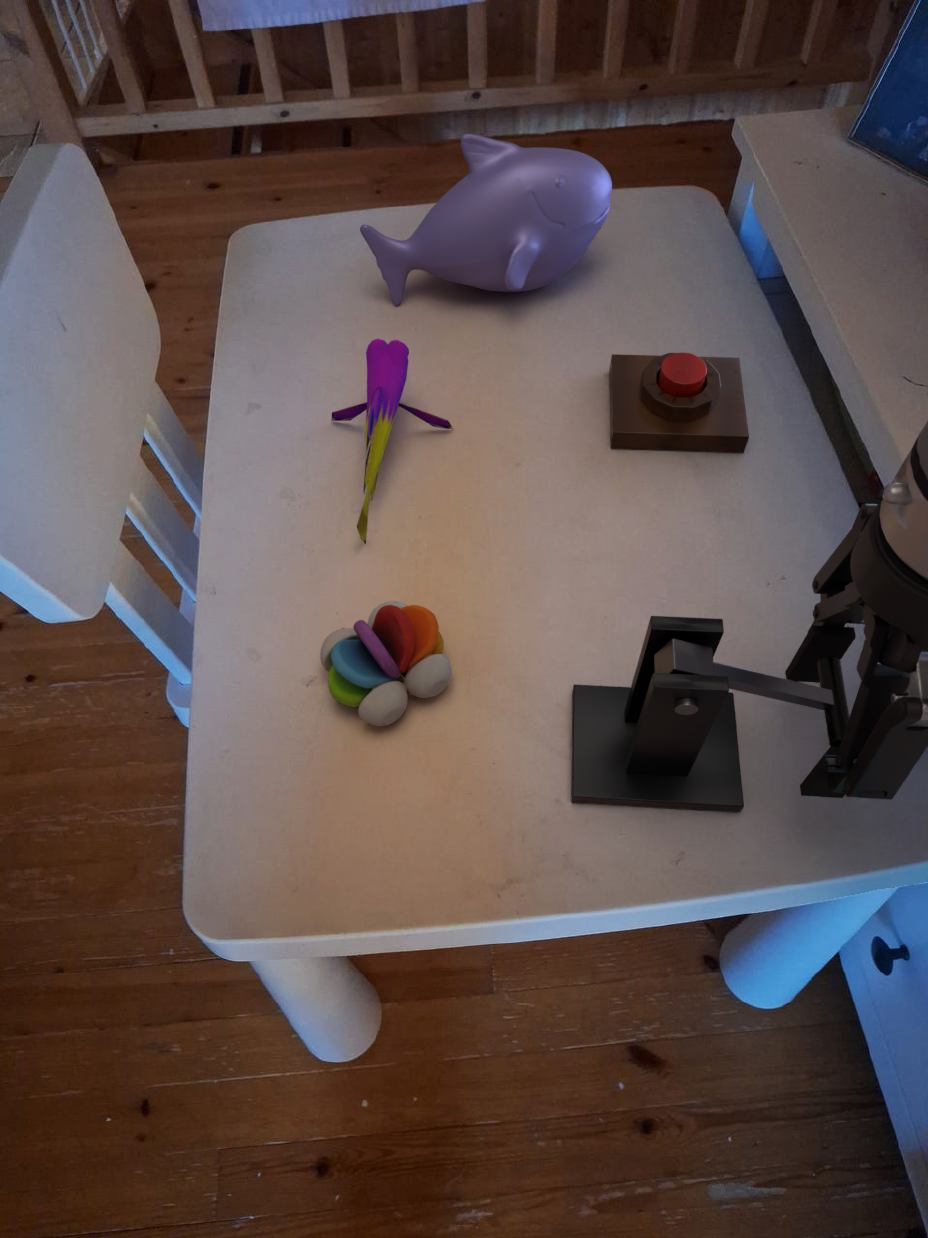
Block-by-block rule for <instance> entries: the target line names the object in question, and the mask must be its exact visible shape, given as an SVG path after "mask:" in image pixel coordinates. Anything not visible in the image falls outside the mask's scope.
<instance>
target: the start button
mask: <svg viewBox="0 0 928 1238" xmlns="http://www.w3.org/2000/svg"><path fill="white" fill-rule="evenodd" d="M673 353H674V354H672V355H669V356H668V357H666V358H665V359H664V361H663V362H662V366H661V371H660V375H659V385H660V387H661V389H662V390H663V391H664V392H665V393H667V394H669V395H671V396H674V397H684V398H690V397H693V396H695V395H697V394H698V393H699V392H700V391H701V390H702V388H703V385H704V381H705V377H706V373H707V367H706V364H705V363H704V361H703V360H702V359H701V358H699V357H700V356H698V355H695V354H693V353H691V354H690V352H673Z"/></svg>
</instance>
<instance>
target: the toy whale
mask: <svg viewBox="0 0 928 1238" xmlns="http://www.w3.org/2000/svg"><path fill="white" fill-rule="evenodd" d="M460 147H461V152H462V155H463V156H464V158H465V160H466V163H467V166H468V170H469V172H468V174H467V175H465V176H464V177H463V178H462V179H460V180H459V181H457V183H456V184H454V185H453V186H452V187H451V188H450V189H449V190H448V191H447V192H446V193H445V194H444V195H443V196H442V197H440V199H439V200H438V201H437V202H436V203H435V204H434V205H433V206H432V207H431V209H430V210H428V212H427V213H426V214H425V216H424V218H423V219H422V220H421V222H420V223H419V224H418V226H417V228H416V229H415V230H414V231H413V233H412V234H411V235H410V236H409V237H408V238H407V239H403V240H400V239H395V238H391V237H389V236H386V235H384V234H382V233H381V232H380V231H378V230H377V229H376V228H374V227H373V226H371V225H369V224H361V225H360V227H359V231H360V234H361V236H362V237H363V239H364V241H365V242H366V244H367V245H368V247H369V249H370V251H371V253H372V254H373V256H374V257H375V261H376V266H377V268H378V269H379V270H380V273H381V277H382V280H384V282H385V283H386V285H387V288H388V292H389V295H390V299H391V302H392V305H394V306H396V307H397V306H400V305H401V303H402V301H403V298H404V294H405V290H406V289H405V288H406V285H407V281H408V277H409V275H410V273H411V272H412V271H414V270H417V271H422V272H425V273H428V274H430V275H432V276H435V277H438V278H439V279H442V280H445V281H448V282H451V283H456V284H460V285H466V286H470V287H473V288H478V289H480V290H483V291H490V292H501V293H504V292H505V293H518V292H527V291H529V292H530V291H534V290H537V289H540V288H543V287H545V286H548V285H550V284H552V283H554V282H555V281H557V280H559V279H560V278H561V277H562V276H563V275H565V274H566V273H567V272H569V271H570V270H571V269H572V268H573V267H574V266H575V264H577V262H578V261H579V260H580V259H581V258H582V257H583V255H584V254H585V253H586V251H587V250H588V248H589V247H590V245H591V243H592V242H593V240H594V239H595V237H596V235H598V233H599V232H600V230H601V229H602V227H603V225H604V223H605V222H606V220H607V218H608V216H609V213H610V210H611V205H610V204H611V196H612V191H613V181H612V178H611V175H610V173H609V171H608V170H607V168H606V167H605V166H604V165H603V164H602V163H601V162H600V161H599V160H597V159H595V158H594V157H592V156H590V155H589V154H587V153H583V152H581V151H579V150H578V151H577V150H573V149H568V148H559V147H521V146H519V145H518V144H516V143H513V142H510V141H505V140H499V139H495V138H491V137H486V136H482V135H478V134H475V133H464V134H463V135H462V136H461V138H460Z"/></svg>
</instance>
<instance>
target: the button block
mask: <svg viewBox="0 0 928 1238" xmlns="http://www.w3.org/2000/svg"><path fill="white" fill-rule="evenodd" d="M674 353H675V352H667V353H665V354H662V355H657V354H655V355H652V354H615V353H613V354H611V357H610V364H609V369H608V373H609V375H608V376H609V378H608V379H609V436H610V439H609V441H610V443H609V444H610V449H611V450H614V449H615V450H637V451H664V452H665V451H667V452H695V453H696V452H698V453H724V454H725V453H728V454H729V453H730V454H744V453H745V450H746V449H747V444H748V442H749V439H750V429H749V421H748V414H747V413H748V412H747V406H746V398H745V389H744V382H743V372H742V366H741V358H740V357H730V356H729V357H728V356H725V357H724V356H698V357H699V358H701V359H702V360H703V361H704V363H705V364H706V367H707V373H706V377H705V381H704V385H703V388H702V390H701V391H700V392H699V393H698V394H697V395H695V396H693V397H690V398H684V397H674V396H671V395H669V394H667V393H665V392H664V391H663V390H662V389H661V387H660V385H659V375H660V371H661V366H662V362H663V361H664V359H665V358H666V357H668V356H669V355H672V354H674ZM689 353H690V352H689ZM690 354H692V353H690Z"/></svg>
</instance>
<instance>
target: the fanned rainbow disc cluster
mask: <svg viewBox="0 0 928 1238" xmlns="http://www.w3.org/2000/svg"><path fill="white" fill-rule="evenodd" d="M439 630H440V629H439V623H438V619H437V617H436V615H435V613H433V611H431V610H430V609H428V608H426V607H425V606H421V605H418V604H411V605H408V604H406V603H404V602H401V601H398V600H389V601H385V602H382V603H380V604H379V605H377V606H375V608H374V609H373V610H372V611H371V613H370V615H369V616H368V620H367V621H366V620H364V619H359V620H357V621H355V622H354V624H353V628H352V627H344V628H339V629H336V630H333V631H332V632H331V633H329V634H328V635H327V636H326V637H325V639H324V641H323V642H322V644H321V647H320V653H319V654H320V662H321V664H322V667H323V668H324V669H325V671H328V674H327V675H328V677H327V685H328V690H329V692H330V694H331V696H332V698H334V700H336V701H337V702H338V703H340V704H342V705H344V706H348V707H352V708H358V711H357V714H358V716H359V717H360V719H361V720H363V721H364V722H365V723H367V724H369V725H371V726H375V727H382V726H383V727H385V726H388V725H391V724H393V723H395V722H397V721H398V720H399V719H400V718H401V717H402V716H403V714H404V712H405V711H406V709H407V705H408V697H409V696H408V693H409V694H411V695H412V696H414V697H416V698H417V697H418V698H422V699H428V698H429V699H430V698H433V697H437V696H438V695H439V694H442V692H443V691H445V690H446V688H447V687H448V686H449V684H450V682H451V680H452V679H451V678H452V674H453V668H452V667H453V666H452V663H451V660H450V658H449V657H448V656H447V655H446V654H444V653H443V652H444V644H445V643H444V638H443V635H442V633H441V631H439ZM400 677H402V678H403V682H401V681H399V680H397V679H399V678H400Z"/></svg>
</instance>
